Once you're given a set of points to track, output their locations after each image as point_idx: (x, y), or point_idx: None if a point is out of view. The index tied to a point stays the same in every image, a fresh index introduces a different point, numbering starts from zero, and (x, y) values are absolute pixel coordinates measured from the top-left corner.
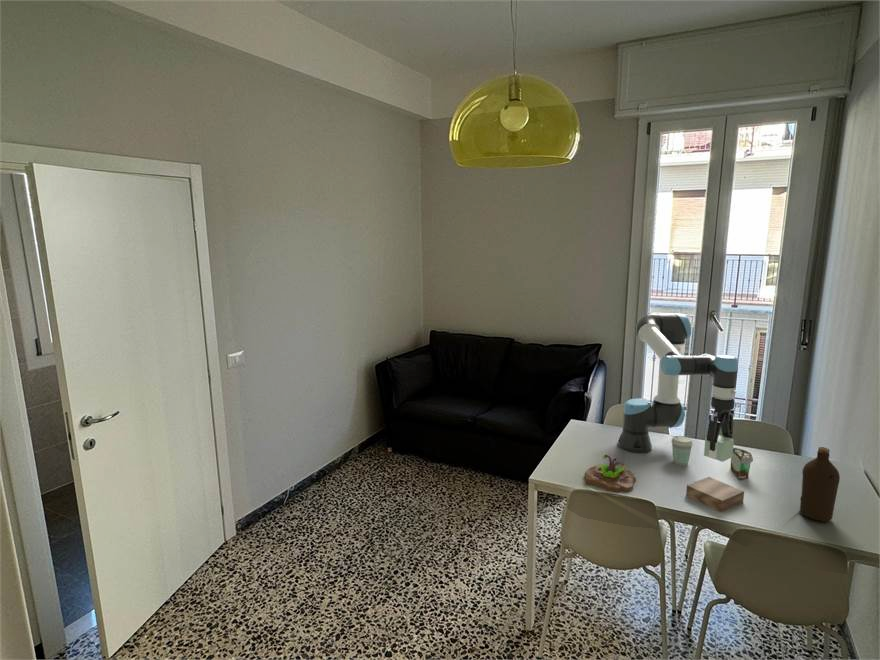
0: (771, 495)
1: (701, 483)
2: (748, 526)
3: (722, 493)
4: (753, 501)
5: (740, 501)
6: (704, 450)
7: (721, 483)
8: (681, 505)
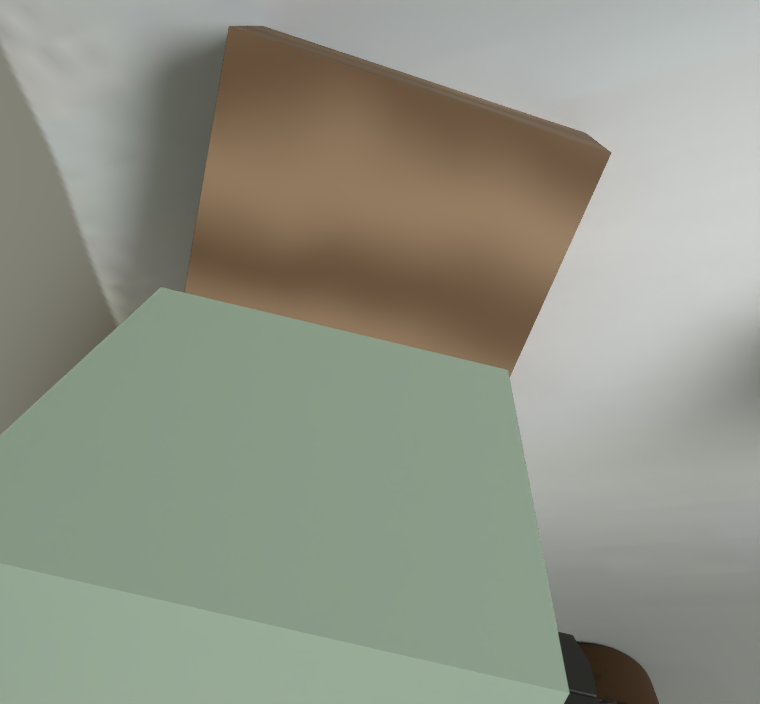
0: (714, 520)
1: (381, 140)
2: None
3: None
4: (535, 450)
5: None
6: (112, 334)
7: (514, 291)
8: (66, 55)
